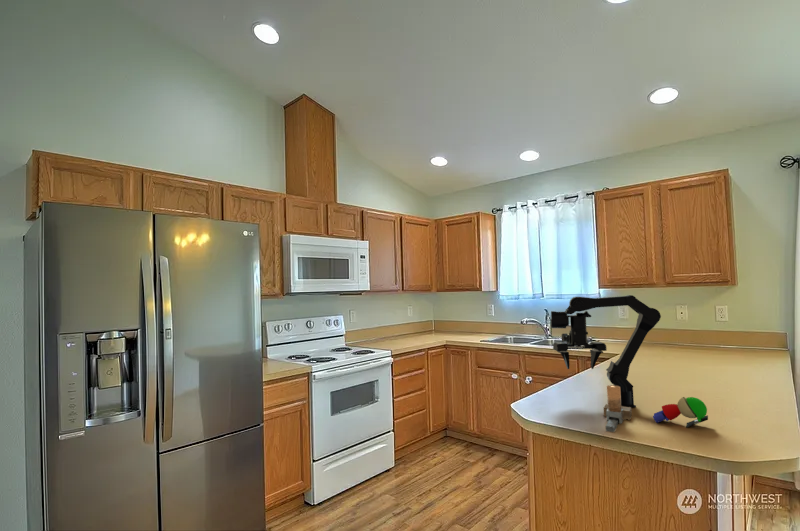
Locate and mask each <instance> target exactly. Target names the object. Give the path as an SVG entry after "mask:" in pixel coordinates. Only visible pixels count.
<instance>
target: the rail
mask: <svg viewBox="0 0 800 531" xmlns="http://www.w3.org/2000/svg"><path fill="white" fill-rule="evenodd" d="M618 423H619V418H615V417H610V419H609V421H608V422H607V423H606V425H605V431H606V432H610V433H615V432H616V430H617V427H618V426H619V424H620V423H619V424H618ZM617 425H618V426H617Z"/></svg>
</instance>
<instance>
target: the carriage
mask: <svg viewBox="0 0 800 531" xmlns="http://www.w3.org/2000/svg"><path fill="white" fill-rule="evenodd" d="M606 393H607V395H606V396H607V399H606V400H607V404H608V409H607V410H606V417H605V418H606V422H607V423H608V421H609V419H610V417H615V418H619V424H623V422H624V419H623V409H621V391H620V386H616V385H613V384H609V385H608V384H607V386H606Z"/></svg>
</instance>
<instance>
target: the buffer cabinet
mask: <svg viewBox="0 0 800 531" xmlns="http://www.w3.org/2000/svg"><path fill="white" fill-rule="evenodd" d="M607 409H608V403H606V404H605V405H604V406H603V417H604V416H606V410H607ZM621 409H623V420H626V419H628V420H627V421H631V419H632V417H633V415H632V407H624V406H621ZM631 416H632V417H631Z"/></svg>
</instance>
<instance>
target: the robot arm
mask: <svg viewBox="0 0 800 531" xmlns="http://www.w3.org/2000/svg"><path fill="white" fill-rule="evenodd" d="M568 303H569V305H568V307H567V308H565V311H556V310H555V311H554V310H551V312H550V329H567V327H570V330H569V334H568V333H561V341H559V342H558V341H557V342H555V341H554V343H553V344H552V350H554V351H556V352H557V353H559V354H560V355H561V356H562V358H563V361H564V363H565V367H566V369H567V370H570V365H571V364H570V351H568V350H589V353H590V369H592V370H593V369H594V368H595V366H596V363H597V361H598V359H599V357H600V356H601V354H603V353H604V352H606V351H607V349H608V348H607V345H606V343H604V342H602V341H590V343H589V342H588V335H589V331H588V330H587V318H591V317H592V315H591V314H590V313H589V312H588V310H592V309H596V308H609V307H611V308H612V307H624V306H628V307H629V308H630V309H632V311H634V312H635V313H637V314H638V315H637V320H636V324H635V328H634V330H633V332H632V334H631V336H630V338H629V339H628V341H627V343H626V345H625V347H624V348H623V351H622V352H621V354H620V356H619V357H618V359H617V360H616V361H615V362H613V361H610V363H609V366H608V367H607V368H606V369H605V370H606V371H607V372H606V377H607V379H608V380H609V382H610V383H611V385H616V386H620V391H621V406H624V407H631V408H636V407H637V405H636V404H635V403H634V402H635V401H634V385H633V384H632V383H631V382H630V381H629V380H628V376H629V371H630V366H631V364H632V362H633V360H634V358H635V357H636V355H637V353H638V351H639V349H640V347H641V345H642V344H643V342H644V340H645V339H646V336H647V335H648V333H649V332H650V331H651V330H652V329H653V328H655V327H656V326H657V324H658V323H659V321H660V320H661V317H662V315H661V313H660V311H659V310H658V309H656V308H654V307H650V306H648V305H647V304H645V303H644V302H642V301H641V300H639V299H638V298H637V297H636V296H635V295H630V294H627V295H622V296H621V295H619V296H618V295H617V296H607V297H606V296H605V297H587V296H586V297H585V296H573V297H572V298H570V300H569V302H568ZM583 311H584V312H583ZM574 313H575V314H574ZM573 314H574V315H573Z"/></svg>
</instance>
